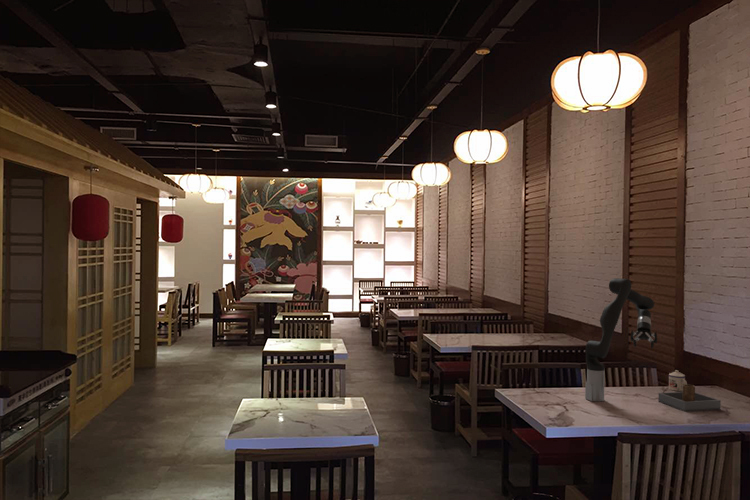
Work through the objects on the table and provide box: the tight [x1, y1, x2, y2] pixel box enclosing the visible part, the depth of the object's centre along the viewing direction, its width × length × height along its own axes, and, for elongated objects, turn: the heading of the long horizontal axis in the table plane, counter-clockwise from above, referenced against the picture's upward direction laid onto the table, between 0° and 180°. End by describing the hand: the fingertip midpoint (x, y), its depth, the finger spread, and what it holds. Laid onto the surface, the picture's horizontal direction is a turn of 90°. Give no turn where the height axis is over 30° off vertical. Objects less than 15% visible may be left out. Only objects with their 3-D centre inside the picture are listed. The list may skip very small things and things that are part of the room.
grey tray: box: [658, 391, 722, 413], centre depth 309 cm, size 22×20×5 cm
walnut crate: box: [682, 383, 696, 402], centre depth 309 cm, size 6×6×10 cm
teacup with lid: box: [668, 369, 688, 392], centre depth 344 cm, size 12×9×12 cm
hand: (643, 347), depth 329 cm, fingers open, 8 cm apart
